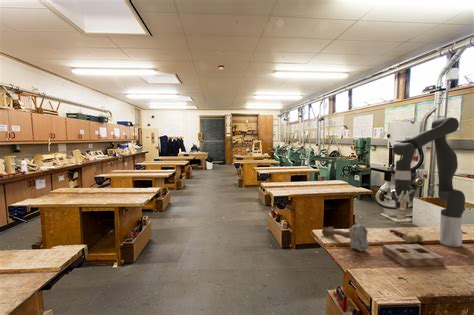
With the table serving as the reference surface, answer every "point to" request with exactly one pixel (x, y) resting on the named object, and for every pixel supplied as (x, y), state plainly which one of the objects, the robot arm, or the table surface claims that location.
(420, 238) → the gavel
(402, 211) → the birch peg
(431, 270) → the table surface
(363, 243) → the hammer
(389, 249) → the walnut board
